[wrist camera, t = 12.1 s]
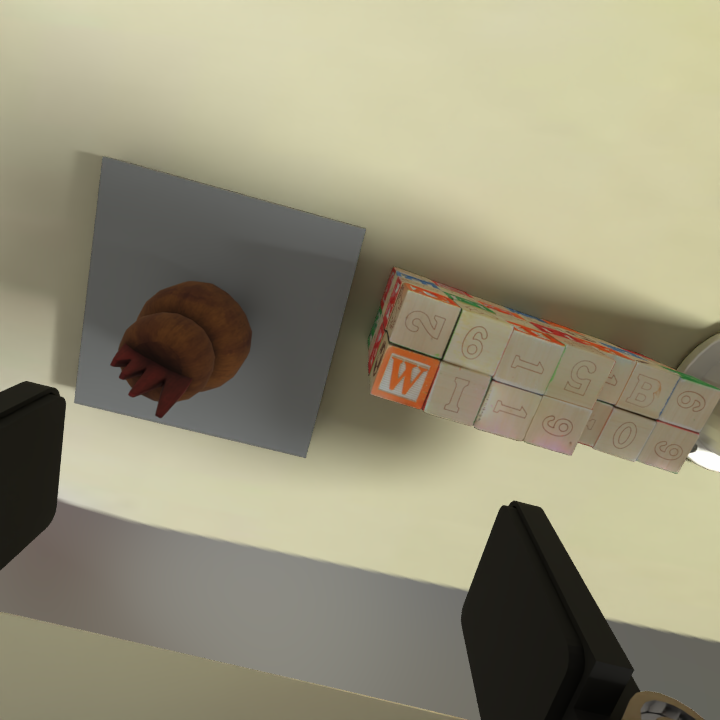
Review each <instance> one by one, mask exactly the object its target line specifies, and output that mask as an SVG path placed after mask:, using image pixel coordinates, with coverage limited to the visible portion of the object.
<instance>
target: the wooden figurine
mask: <svg viewBox="0 0 720 720" xmlns="http://www.w3.org/2000/svg"><path fill="white" fill-rule="evenodd" d="M251 338H252V330H251V327H250V325H249V322H248V319H247V316H246V314H245V313H244V311H243V310H242V308H241V307H240V305H239V304H238V303H237V302H236V301H235V300H234V299H233V298H232V297H231V296H230V295H229V294H228V293H227V292H225V291H224V290H222V289H221V288H219V287H217V286H216V285H214V284H212V283H205V282H198V281H187V282H183V283H180V284H177V285H174V286H171V287H168V288H165V289H162V290H160V291H159V292H157V293H156V294H155V295H154V296H152V297H151V298H150V299H149V300H148V301H146V303H145V305H144V306H143V308H142V310H141V312H140V314H139V315H138V317H137V321H136V322H134V323H133V324H132V325H131V326H130V327H129V328H128V329H126V331H125V333H124V335H123V338H122V340H121V342H120V344H119V348H118V352H117V353H116V355H115V356H114V358H113V360H112V362H111V364H110V365H111V366H113V367H120V368H121V371H122V372H121V373H120V375H119V378H120V379H122V380H126V381H127V382H128V384H129V385H130V387H132V389H131V390H130V392H129V394H128V395H129V396H130V397H133V398H134V397H136V396H139V395H142V396H144V397H147V398H149V399H151V400H153V401H157V402H158V405H157V409H156V413H155V416H157V417H158V418H162V417H163V416H164V415H165V414H166V413H167V412H168V411H169V410H170V409H171V408H172V406H173V405H174V404H175V403H176V402H179V401H183V400H187V399H190V398H191V397H193V396H194V395H195V394H197V393H198V392H204V391H207V390H211V389H214V388H217V387H220V386H222V385H223V384H225V383H226V382H227V381H229V380H230V379H231V378H233V377H234V376H235V374H236V373H237V372H238V370H239V369H240V367H241V366H242V364H243V363H244V361H245V359H246V358H247V356H248V354H249V352H250V347H251Z"/></svg>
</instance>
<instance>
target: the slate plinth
mask: <svg viewBox="0 0 720 720" xmlns="http://www.w3.org/2000/svg"><path fill="white" fill-rule="evenodd" d="M365 231H366V229H365V228H362V227H358V226H355V225H351V224H348V223H344V222H340V221H337V220H333V219H330V218H326V217H322V216H319V215H315V214H312V213H308V212H304V211H301V210H297V209H294V208H290V207H286V206H283V205H279V204H276V203H272V202H269V201H265V200H261V199H258V198H254V197H251V196H247V195H243V194H240V193H236V192H233V191H229V190H225V189H222V188H218V187H215V186H211V185H207V184H204V183H200V182H197V181H193V180H189V179H186V178H182V177H179V176H175V175H171V174H168V173H164V172H161V171H157V170H153V169H150V168H146V167H143V166H139V165H135V164H132V163H128V162H125V161H121V160H117V159H113V158H108V157H104V156H103V158H102V167H101V175H100V184H99V193H98V201H97V210H96V219H95V227H94V236H93V244H92V253H91V262H90V270H89V279H88V288H87V296H86V305H85V314H84V322H83V331H82V340H81V348H80V357H79V365H78V374H77V383H76V391H75V400H74V403H77V404H81V405H85V406H89V407H93V408H98V409H102V410H106V411H110V412H114V413H119V414H123V415H127V416H131V417H135V418H140V419H144V420H148V421H152V422H157V423H161V424H165V425H169V426H173V427H178V428H182V429H186V430H190V431H194V432H199V433H203V434H207V435H211V436H215V437H220V438H224V439H228V440H232V441H236V442H241V443H245V444H249V445H253V446H257V447H262V448H266V449H270V450H274V451H279V452H283V453H287V454H291V455H295V456H300V457H304V458H306V455H307V451H308V448H309V444H310V440H311V436H312V432H313V429H314V425H315V421H316V417H317V413H318V410H319V406H320V402H321V398H322V394H323V391H324V387H325V383H326V379H327V375H328V372H329V368H330V364H331V360H332V356H333V353H334V349H335V345H336V341H337V337H338V334H339V330H340V326H341V322H342V318H343V315H344V311H345V307H346V303H347V299H348V296H349V292H350V288H351V284H352V280H353V277H354V273H355V269H356V265H357V261H358V258H359V254H360V250H361V246H362V242H363V239H364V235H365ZM187 281H198V282H205V283H212V284H214V285H216V286H217V287H219V288H221V289H222V290H224V291H225V292H227V293H228V294H229V295H230V296H231V297H232V298H233V299H234V300H235V301H236V302H237V303H238V304H239V305H240V307H241V308H242V310H243V311H244V313H245V314H246V316H247V319H248V322H249V325H250V327H251V330H252V338H251V347H250V352H249V354H248V356H247V358H246V359H245V361H244V363H243V364H242V366H241V367H240V369H239V370H238V372H237V373H236V374H235V376H234V377H233V378H231V379H230V380H229V381H227V382H226V383H225V384H223V385H222V386H220V387H217V388H214V389H211V390H207V391H204V392H198V393H197V394H195V395H194V396H193V397H191V398H190V399H187V400H183V401H179V402H176V403H175V404H174V405H173V406H172V408H171V409H170V410H169V411H168V412H167V413H166V414H165V415H164V416H163V417H162V418H158V417H157V416H155V413H156V409H157V405H158V402H157V401H153V400H151V399H149V398H147V397H144V396H142V395H139V396H136V397H134V398H133V397H130V396H129V395H128V394H129V392H130V390H131V389H132V387H130V385H129V384H128V382H127V381H126V380H122V379H120V378H119V375H120V373H121V372H122V371H121V368H120V367H113V366H111V365H110V364H111V362H112V360H113V358H114V356H115V355H116V353H117V352H118V348H119V344H120V342H121V340H122V338H123V335H124V333H125V331H126V329H128V328H129V327H130V326H131V325H132V324H133V323H134V322H136V321H137V317H138V315H139V314H140V312H141V310H142V308H143V306H144V305H145V303H146V301H148V300H149V299H150V298H151V297H152V296H154V295H155V294H156V293H157V292H159V291H160V290H162V289H165V288H168V287H171V286H174V285H177V284H180V283H183V282H187Z"/></svg>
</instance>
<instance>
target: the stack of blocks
mask: <svg viewBox="0 0 720 720" xmlns="http://www.w3.org/2000/svg"><path fill="white" fill-rule="evenodd" d="M368 350H369V362H368V368H369V369H368V371H369V372H368V373H369V376H370V393H371V395H374V396H377V397H380V398H384V399H387V400H390V401H393V402H397V403H400V404H403V405H406V406H409V407H413V408H416V409H422V410H423V411H424V412H425V413H427V414H431V415H434V416H437V417H441V418H444V419H448V420H451V421H454V422H458V423H462V424H465V425H469V426H472V425H473V426H474V428H476V429H478V430H482V431H485V432H489V433H492V434H496V435H499V436H502V437H506V438H509V439H513V440H516V441H524V442H526V443H528V444H532V445H535V446H539V447H542V448H546V449H549V450H552V451H556V452H559V453H563V454H566V455H572V454H573V451H574V449H575V447H576V445H577V443H581V444H584V445H587V446H590V447H592V448H593V449H595V450H598V451H601V452H604V453H607V454H610V455H613V456H617V457H620V458H623V459H626V460H629V461H633V462H635V461H639V462H641V463H644V464H647V465H650V466H654V467H657V468H660V469H663V470H666V471H669V472H672V473H675V474H678V472H679V470H680V469H681V467H682V465H683V464H684V462H685V460H686V458H687V457H688V455H689V453H690V451H691V450H692V448H693V446H694V445H695V443H696V441H697V440H698V438H699V432H700V431H701V430H702V429H703V427H704V425H705V423H706V422H707V420H708V418H709V417H710V415H711V413H712V411H713V409H714V408H715V406H716V404H717V402H718V401H719V399H720V389H719V388H717V387H715V386H713V385H710V384H708V383H706V382H704V381H702V380H700V379H698V378H695V377H693V376H690V375H687V374H684V373H681V372H679V371H677V370H675V369H673V368H671V367H668V366H666V365H664V364H661V363H659V362H656V361H655V360H653V359H650V358H648V357H646V356H644V355H641V354H639V353H635V352H632V351H629V350H626V349H623V348H620V347H618V346H615V345H613V344H611V343H609V342H606V341H604V340H601V339H598V338H595V337H592V336H589V335H586V334H583V333H581V332H578V331H574V330H572V329H569V328H567V327H564V326H561V325H558V324H555V323H552V322H549V321H547V320H544V319H538V318H535V317H532V316H530V315H527V314H524V313H521V312H518V311H515V310H513V309H510V308H507V307H503V306H500V305H498V304H495V303H492V302H489V301H486V300H483V299H481V298H478V297H475V296H472V295H469V294H467V293H466V292H463V291H460V290H458V289H455V288H452V287H449V286H446V285H444V284H441V283H438V282H435V281H432V280H430V279H428V278H425V277H422V276H420V275H417V274H414V273H411V272H408V271H406V270H403V269H400V268H397V267H393V269H392V272H391V275H390V277H389V280H388V283H387V286H386V289H385V292H384V294H383V297H382V300H381V304H380V308H379V310H378V313H377V316H376V319H375V321H374V324H373V327H372V330H371V333H370V335H369V338H368Z"/></svg>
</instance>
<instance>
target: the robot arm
mask: <svg viewBox="0 0 720 720" xmlns="http://www.w3.org/2000/svg"><path fill="white" fill-rule="evenodd" d="M677 371H679V372H681V373H684V374H687V375H690V376H693V377H695V378H698V379H700V380H702V381H704V382H706V383H708V384H710V385H713V386H715V387H717V388H719V389H720V333H718V334H716V335H714V336H712V337H710V338H709V339H707V340H706V341H704V342H703V343H702V344H700V345H699V346H697V347H696V348H695V349H694V350H693V351H692V352H691V353H690V354H689V355H688V356H687V357H686V358H685V359H684V361H683V362H682V363H681V365H680V366H679V367H678V369H677ZM65 410H66V401H65V399H64V398H63V397H60V394H59V391H58V390H57V389H56V388H53V387H49V386H44V385H40V384H36V383H32V382H28V381H25V382H22V383H19V384H17V385H15V386H13V387H11V388H8V389H6V390H4V391H2V392H0V570H1V569H2V568H3V567H5V566H6V565H7V564H8V563H9V562H10V561H11V560H12V559H13V558H14V557H15V556H17V555H18V554H19V553H20V552H21V551H22V550H23V549H24V548H25V547H26V546H27V545H28V544H29V543H31V542H32V541H33V540H34V539H35V538H36V537H37V536H38V535H39V534H40V533H41V532H43V531H44V530H45V529H46V528H47V527H48V526H49V524H50V523H51V521H52V519H53V517H54V515H55V512H56V507H57V496H58V485H59V475H60V464H61V453H62V442H63V431H64V421H65ZM687 458H688V459H689V460H691V461H692V462H694V463H695V464H697V465H699V466H701V467H703V468H705V469H707V470H711V471H715V472H719V473H720V399H719V401H718V402H717V404H716V406H715V408H714V409H713V411H712V413H711V415H710V417H709V418H708V420H707V422H706V423H705V425H704V427H703V429H702V430H701V431H700V432H699V438H698V440H697V441H696V443H695V445H694V446H693V448H692V450H691V451H690V453H689V455H688V457H687ZM461 624H462V629H463V635H464V639H465V644H466V649H467V654H468V659H469V663H470V669H471V673H472V678H473V683H474V688H475V693H476V697H477V703H478V708H479V712H480V717H481V720H705V719H704V718H702V717H701V716H700V715H698V714H697V713H696V712H695V711H693V710H692V709H691V708H689V707H687V706H686V705H684V704H682V703H681V702H679V701H677V700H676V699H674V698H671V697H669V696H666V695H663V694H661V693H657V692H651V691H642V692H640V690H639V688H638V687H637V685H636V683H635V681H634V679H633V677H632V676H631V675H632V673H633V671H634V669H633V667H632V666H631V664H630V662H629V660H628V658H627V657H626V655H625V653H624V651H623V650H622V648H621V646H620V644H619V643H618V641H617V639H616V637H615V635H614V634H613V632H612V630H611V628H610V627H609V625H608V623H607V621H606V620H605V618H604V616H603V614H602V613H601V611H600V609H599V607H598V606H597V604H596V602H595V600H594V599H593V597H592V595H591V593H590V592H589V590H588V588H587V586H586V585H585V583H584V581H583V579H582V578H581V576H580V574H579V572H578V571H577V569H576V567H575V565H574V564H573V562H572V560H571V558H570V557H569V555H568V553H567V551H566V550H565V548H564V546H563V544H562V542H561V541H560V539H559V537H558V535H557V534H556V532H555V530H554V528H553V527H552V525H551V523H550V521H549V520H548V518H547V516H546V514H545V513H544V511H543V509H542V508H541V507H538V506H534V505H529V504H525V503H521V502H517V501H512V502H511V503H510V504H509V506H505V505H503V506H502V507H501V508H500V510H499V512H498V514H497V517H496V520H495V522H494V525H493V528H492V530H491V533H490V536H489V538H488V541H487V544H486V546H485V549H484V552H483V554H482V557H481V560H480V562H479V565H478V568H477V570H476V573H475V576H474V578H473V581H472V584H471V586H470V589H469V592H468V594H467V597H466V599H465V602H464V605H463V608H462V615H461ZM0 720H468V719H463V718H459V717H455V716H451V715H446V714H442V713H438V712H434V711H430V710H425V709H421V708H417V707H413V706H409V705H404V704H400V703H396V702H391V701H387V700H383V699H379V698H375V697H370V696H366V695H362V694H357V693H353V692H349V691H345V690H341V689H336V688H332V687H327V686H323V685H319V684H314V683H310V682H306V681H301V680H297V679H293V678H288V677H284V676H280V675H275V674H271V673H266V672H262V671H258V670H253V669H249V668H244V667H240V666H236V665H232V664H227V663H222V662H218V661H214V660H210V659H205V658H201V657H197V656H192V655H188V654H184V653H179V652H175V651H171V650H166V649H162V648H158V647H153V646H149V645H145V644H140V643H135V642H131V641H127V640H123V639H118V638H114V637H110V636H105V635H101V634H97V633H92V632H88V631H84V630H79V629H75V628H71V627H66V626H61V625H58V624H53V623H49V622H45V621H40V620H36V619H32V618H27V617H22V616H18V615H14V614H9V613H5V612H1V611H0Z"/></svg>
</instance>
